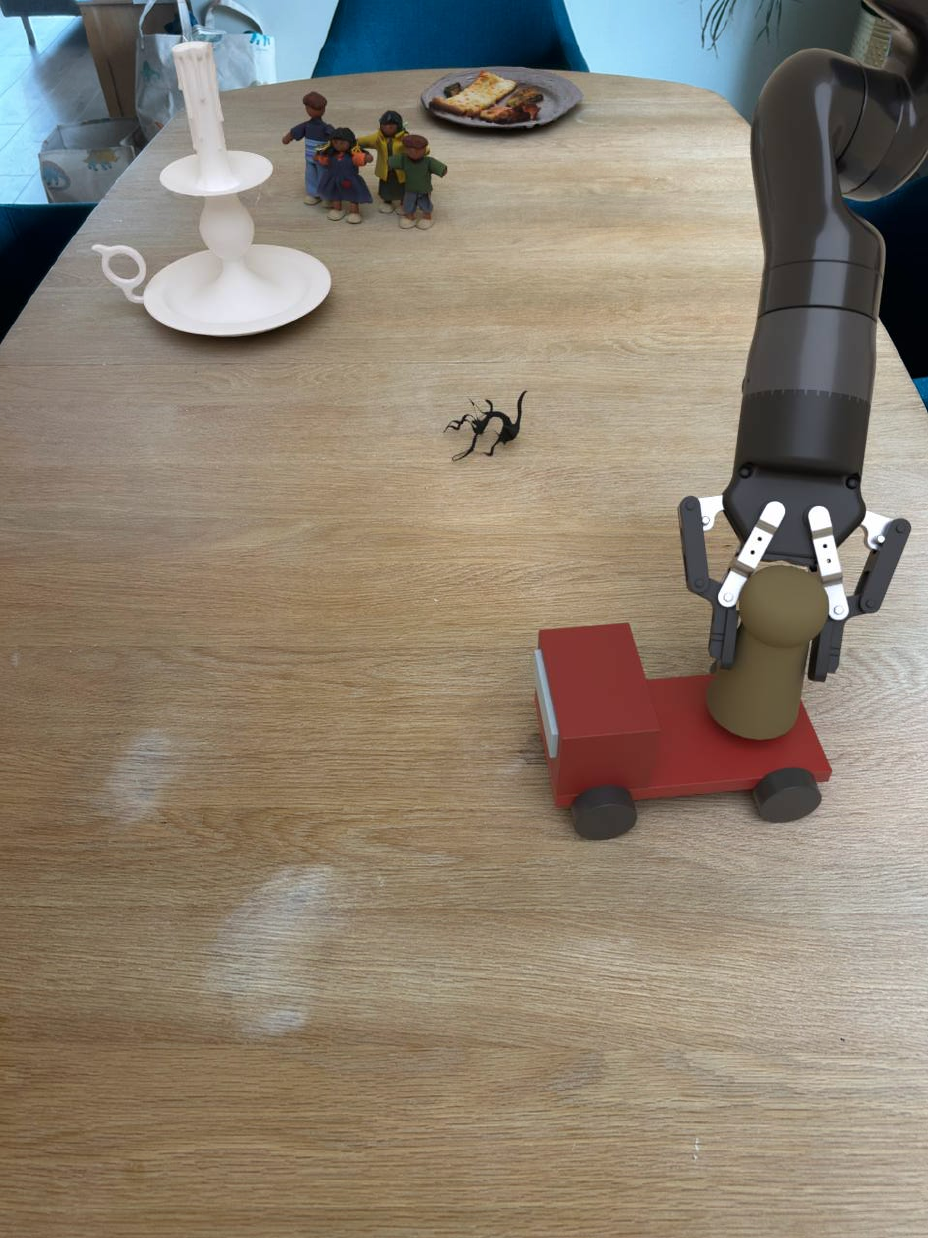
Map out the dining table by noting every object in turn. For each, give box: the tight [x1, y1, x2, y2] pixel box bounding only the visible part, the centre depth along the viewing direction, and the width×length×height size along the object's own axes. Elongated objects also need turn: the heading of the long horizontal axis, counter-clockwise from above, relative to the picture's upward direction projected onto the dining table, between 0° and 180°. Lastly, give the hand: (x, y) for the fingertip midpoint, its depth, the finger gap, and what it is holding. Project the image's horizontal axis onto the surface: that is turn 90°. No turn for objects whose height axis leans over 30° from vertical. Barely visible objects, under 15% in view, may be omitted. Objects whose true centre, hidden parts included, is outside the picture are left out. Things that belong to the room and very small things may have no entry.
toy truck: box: [532, 622, 833, 841], centre depth 66 cm, size 18×12×9 cm, turn 96°
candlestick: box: [91, 35, 332, 338], centre depth 103 cm, size 21×25×28 cm
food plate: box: [420, 66, 584, 131], centre depth 155 cm, size 25×23×4 cm
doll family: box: [281, 90, 448, 230], centre depth 127 cm, size 23×9×13 cm, turn 80°
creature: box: [442, 390, 528, 462], centre depth 93 cm, size 8×5×8 cm
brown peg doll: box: [706, 564, 829, 740], centre depth 62 cm, size 6×6×11 cm
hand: (770, 673), depth 61 cm, fingers closed on brown peg doll, 5 cm apart
